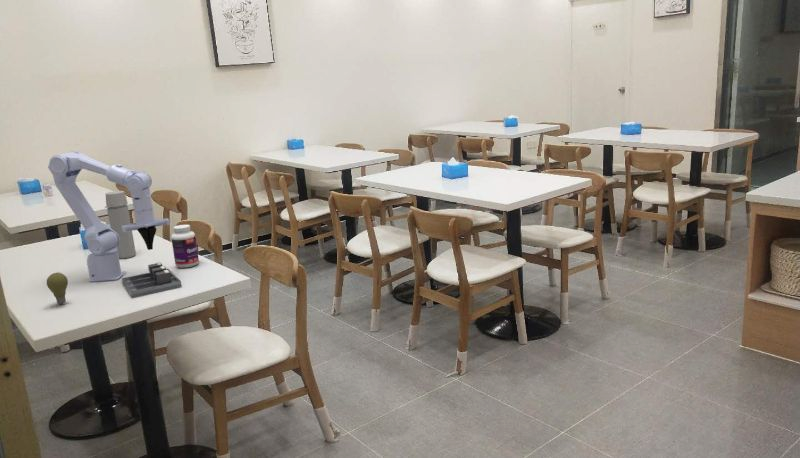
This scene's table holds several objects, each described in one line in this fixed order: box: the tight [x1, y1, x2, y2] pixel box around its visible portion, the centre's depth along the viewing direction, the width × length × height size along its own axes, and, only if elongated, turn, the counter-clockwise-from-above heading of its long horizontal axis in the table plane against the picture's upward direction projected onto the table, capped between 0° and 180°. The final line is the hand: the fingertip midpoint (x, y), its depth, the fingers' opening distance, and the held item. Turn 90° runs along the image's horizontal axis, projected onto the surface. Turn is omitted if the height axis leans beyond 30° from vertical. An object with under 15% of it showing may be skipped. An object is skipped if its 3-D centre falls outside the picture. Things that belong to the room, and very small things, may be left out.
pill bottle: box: [170, 224, 200, 269], centre depth 216 cm, size 8×8×14 cm
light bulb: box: [46, 272, 69, 306], centre depth 185 cm, size 6×6×10 cm
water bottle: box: [104, 190, 137, 260], centre depth 231 cm, size 9×8×25 cm
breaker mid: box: [152, 265, 168, 281], centre depth 199 cm, size 4×3×4 cm
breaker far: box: [147, 261, 164, 277], centre depth 203 cm, size 4×3×4 cm
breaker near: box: [155, 270, 172, 285], centre depth 194 cm, size 4×3×4 cm
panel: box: [120, 268, 182, 299], centre depth 198 cm, size 15×17×2 cm
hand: (150, 249), depth 204 cm, fingers closed
